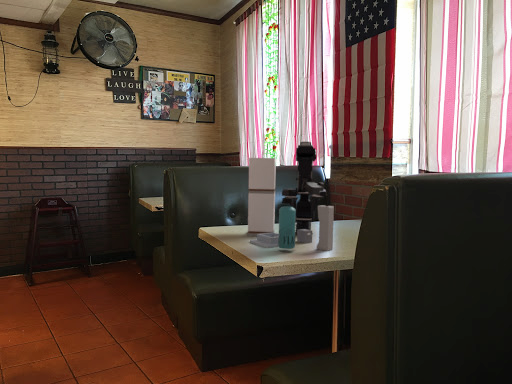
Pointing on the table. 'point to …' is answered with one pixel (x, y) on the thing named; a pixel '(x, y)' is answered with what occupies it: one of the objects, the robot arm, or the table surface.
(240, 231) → the table surface
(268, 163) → the white box wooden trim
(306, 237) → the brick
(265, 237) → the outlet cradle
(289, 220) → the beverage bottle
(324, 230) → the vintage mobile phone
